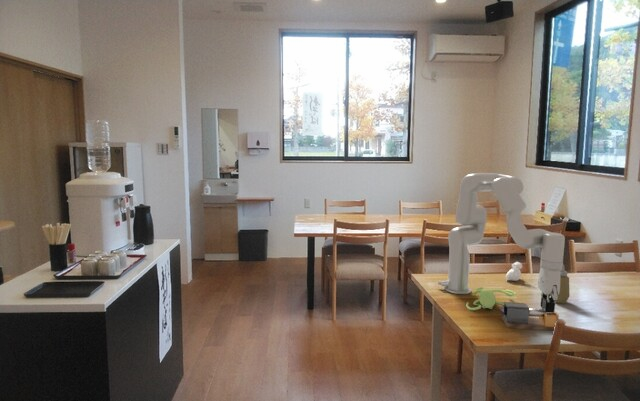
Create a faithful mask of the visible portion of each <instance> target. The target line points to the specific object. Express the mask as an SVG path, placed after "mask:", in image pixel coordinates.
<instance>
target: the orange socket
mask: <svg viewBox="0 0 640 401" xmlns="http://www.w3.org/2000/svg"><path fill="white" fill-rule="evenodd" d="M559 317H560V315H559V314H558V313H557V312H556V311H555V310H554V315H550V314H545V316H544V317H538V318H539V320H540V321H541V322H542V323H543V325H544V326H546V327H555V323H556V321H557V320H558V321H559Z"/></svg>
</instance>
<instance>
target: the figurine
mask: <svg viewBox="0 0 640 401" xmlns="http://www.w3.org/2000/svg"><path fill="white" fill-rule="evenodd" d="M495 292H496V293H501V294H502V293H503V294H505V295H506V296H508V297H514V296H515V295H516V294H517V292H515V291H512V290H511V289H505V290H504V289H496V288H495V289H488V288H486V289H485V288H483V287H482V286H480V287H479V286H478V288H476V289H475V290H474V291H472V295H477V294H478V293H479V294H478V299H476V300H474V301H473V305H474V306H475V307H470V306H469V305H470V302H469V301H467V302H466V304H465V306H466V308H467V310H469V311H477V310H480V309H482V308H483V310H484V309H489V310H493V308H494V306H495V305H501V306H502V307H501V308H500V311H501V312H502V313H503V311H504V302H500V301H497V299H496V294H495ZM479 303H480V304H479Z"/></svg>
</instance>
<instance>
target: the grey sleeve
mask: <svg viewBox="0 0 640 401" xmlns="http://www.w3.org/2000/svg"><path fill="white" fill-rule="evenodd" d="M503 303H504V311H503V312H502V316H503V318H504V320H505V321H506V323H517V324H528V319H529V318H530V316H529V308H530V307H529V306H528V305H527V304H526V303H524V302H512V301H511V302H510V301H508V302H507V301H504V302H503Z"/></svg>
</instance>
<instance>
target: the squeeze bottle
mask: <svg viewBox="0 0 640 401" xmlns="http://www.w3.org/2000/svg"><path fill="white" fill-rule="evenodd" d="M565 268H566V267H565V264H564V263H563V265H562V270H561V271H560V292H559V295H558V299H557V300H556V303H555V304H566V303H567V302H568V299H569V298H570V277H569V276H568V272H567V271H566V270H565ZM550 294H552V293H550ZM550 297H552V296H550Z"/></svg>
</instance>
